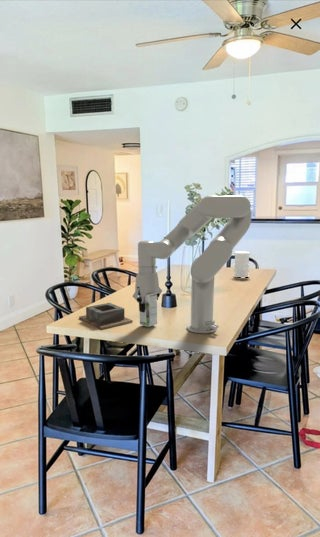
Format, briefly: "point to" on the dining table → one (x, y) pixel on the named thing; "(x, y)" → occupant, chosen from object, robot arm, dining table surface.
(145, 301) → the syrup box
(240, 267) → the decorative container
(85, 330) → the dining table surface
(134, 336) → the dining table surface
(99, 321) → the socket stand
